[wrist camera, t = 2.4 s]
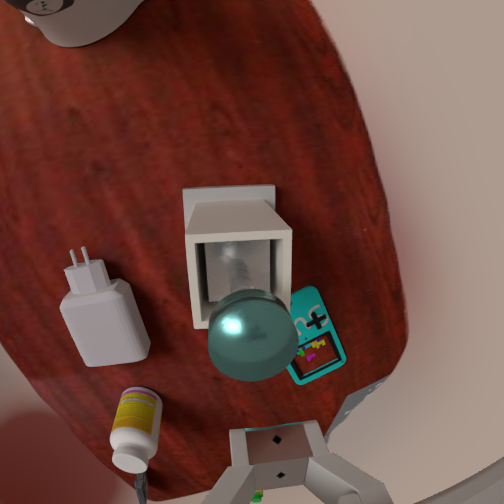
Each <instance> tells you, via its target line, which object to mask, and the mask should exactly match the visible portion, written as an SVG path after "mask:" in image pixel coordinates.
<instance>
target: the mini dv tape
mask: <svg viewBox="0 0 504 504" xmlns="http://www.w3.org/2000/svg"><path fill="white" fill-rule="evenodd" d="M134 484H135V488H136V492H137V496H138V499H139V502H140V504H146V502H147V492H148V480H147V475H146V471H145V472H143V473H136V476H135V483H134Z"/></svg>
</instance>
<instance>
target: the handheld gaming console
mask: <svg viewBox="0 0 504 504" xmlns="http://www.w3.org/2000/svg"><path fill="white" fill-rule="evenodd" d="M290 316H291V318H292V320H293V322H294V325H295V327H296V329H297V332H298V336H299V346H298V349H299V350H297V353H296V355H295V356H297V355H299V354H301V355H302V356H303V355H305V354H304V352H303V350H304V349H306V348H308V347H310V346H312V347H313V348H314V347H316V348H319V347H320V346H319V345H320V344H322V345H325V344H326V343H325V341H324V339H323V340H320V338H322V336H324V335H327V337H328V339H329V341H330V343H331V345H332V347H333V350H334V352H335V354H336V356H337V359H335V360H333V361H331V362H329V363H327V364H325V365H323V366H321V367H319V368H317V369H315V370H313V371H311V372H309V373H307V374H305V375H301V374H300V372H299V370H298V368H297V367H296V365H295V363H294V362H293V360H292V362H291V363H290V364H289V365H288V366H287V369H288V371H289V372H290V374H291V376H292V378H293V379H294V381H295V382H296V383H297V384H299V385H302V384H306V383H308V382H310V381H312V380H314V379H316V378H318V377H320V376H322V375H324V374H326V373H328V372H330V371H332V370H334V369H336V368H338V367H340V366H342V365H343V364H344V363H345V361H346V356H345V354H344V351H343V349H342V346H341V344H340V341H339V339H338V337H337V334H336V332H335V329H334V327H333V325H332V322H331V320H330V317H329V315H328V313H327V310H326V308H325V306H324V303H323V301H322V299H321V296H320V294H319V292H318V290H317V289H316V288H315V287H314V286H306V287H304V288H302V289H300V290H298V291H296V292H294V293H292V294H291V299H290ZM302 346H303V347H302ZM314 356H316V354H315V353H314V354H312V355H310V356H308V357H306V358H307V359H308V361H311V358H312V357H314Z"/></svg>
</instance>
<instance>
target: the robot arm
mask: <svg viewBox="0 0 504 504" xmlns="http://www.w3.org/2000/svg"><path fill="white" fill-rule="evenodd" d="M3 1H4V2H7V3H8V4H10V5H11V6H13V7H15V8H16V9H19V10H20V11H21V12H22V13H23V14H24V15H25V20H26V21H27V22H28V23H29V24H31V25H33V26H35V27H38V28H39V29H40V30H41V31H42V33H43V34H44V35H45V37H46V38H47V39H48V40H49V41H50V42H52V43H54V44H56V45H58V46H62V47H78V46H83V45H87V44H90V43H93V42H95V41H97V40H99V39H101V38H103V37H105V36H107V35H108V34H110V33H111V32H113V31H114V30H116V29H117V28H118V27H119V26H120V25H122V24H123V23H124V22H125V21H126V20H127V19H128V18H129V16H130V15H131V14H132V13H133V12H134V10H135V9H136V8H137V7H138V5H139V4H140V3H141V2H143V1H144V0H3ZM229 435H230V446H231V457H232V467H228V468H227V469H226V470H225V472H224V473H223V475H222V476H221V477H220V479H219V480H218V482H217V483H216V484H215V486H214V487H213V488H212V490H211V491H210V492H209V494H208V495H207V496H206V498H205V499H204V500H203V502H202V503H201V504H249V503H250V501H251V500H252V498H253V496H254V494H255V493H256V491H260V490H267V489H274V488H281V487H289V486H297V485H303V484H304V486H305V487H306V488H307V489H308V490H310V491H311V492H312V493H313V494H314V495H315V496H316V497H318V498H319V499H320V500H321V501H322V502H324V503H325V504H393V502H392V500H391V498H390V495H389V494H388V491H387V489H386V487H385V485H384V483H382V482H381V481H379V480H377V479H375V478H374V477H372V476H370V475H369V474H367V473H365V472H364V471H362V470H360V469H359V468H357V467H355V466H354V465H352V464H351V463H349V462H347V461H346V460H344V459H343V458H341V457H340V456H338V455H337V454H335V453H329V450H328V448H327V445H326V443H325V440H324V437H323V435H322V432H321V430H320V427H319V424H318V422H317V421H316V420H312V421H305V422H297V423H291V424H284V425H277V426H272V427H260V428H246V429H245V430H244V429H231V430H230V432H229ZM414 504H504V457H502V458H501V459H499V460H498V461H496V462H495V463H493V464H491V465H490V466H488V467H486V468H485V469H483V470H481V471H479V472H478V473H476V474H474V475H473V476H471V477H469V478H467V479H465V480H463V481H461V482H459V483H458V484H456V485H454V486H452V487H450V488H448V489H446V490H443V491H441V492H439V493H437V494H435V495H433V496H431V497H428V498H426V499H424V500H422V501H419V502H417V503H414Z"/></svg>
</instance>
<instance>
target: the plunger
mask: <svg viewBox="0 0 504 504" xmlns="http://www.w3.org/2000/svg"><path fill="white" fill-rule="evenodd" d="M205 254H206V268H207V282H208V294H209V302H216V301H219V302H218V303H217V305H216V306H215V307H214V309H213V310H212V312H211V315H210V318H209V323H208V351H209V355H210V358H211V360H212V362H213V364H214V365H215V366H216V368H217V369H218V370H219V371H221V372H222V373H223V374H225V375H227V376H229V377H231V378H234V379H237V380H242V381H258V380H263V379H267V378H270V377H272V376H274V375H276V374H278V373H280V372H281V371H282V370H284V369H285V368H286V367H287V366H288V365H289V364H290V363H291V362H292V360H293V359H294V357H295V355H296V353H297V350H298V346H299V336H298V332H297V329H296V327H295V325H294V322H293V320H292V318H291V316H290V313H289V311H288V309H287V307H286V305H285V304H284V303H283V301H282V300H281V299H279V298H278V297H277V296H276V295H274V294H272V293H270V239H264V240H244V241H225V242H207V243H205Z"/></svg>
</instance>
